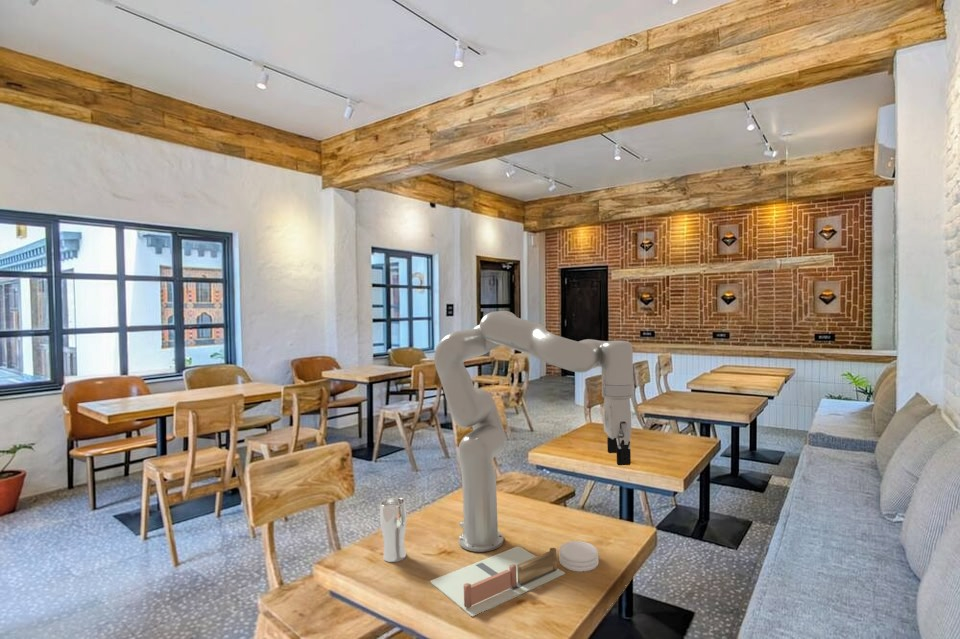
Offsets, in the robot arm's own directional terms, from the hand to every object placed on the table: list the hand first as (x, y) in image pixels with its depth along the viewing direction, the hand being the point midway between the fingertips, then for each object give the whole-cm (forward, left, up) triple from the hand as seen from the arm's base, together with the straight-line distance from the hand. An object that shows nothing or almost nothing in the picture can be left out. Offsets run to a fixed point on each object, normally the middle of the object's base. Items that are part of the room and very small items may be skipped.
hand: (618, 458), depth 130 cm
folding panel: (-10, -34, -27) cm, 44 cm away
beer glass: (-42, -42, -28) cm, 65 cm away
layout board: (-16, -27, -28) cm, 42 cm away
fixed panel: (-10, -20, -28) cm, 35 cm away
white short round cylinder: (-9, -6, -28) cm, 30 cm away
